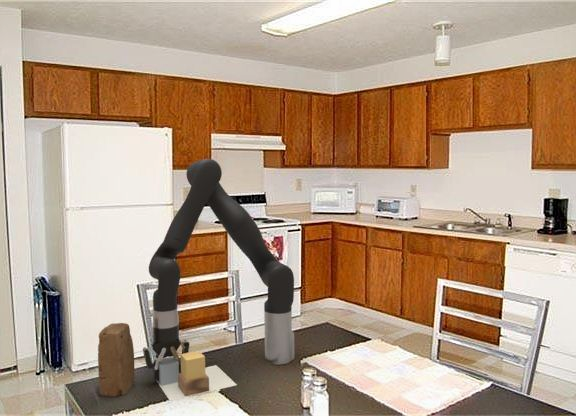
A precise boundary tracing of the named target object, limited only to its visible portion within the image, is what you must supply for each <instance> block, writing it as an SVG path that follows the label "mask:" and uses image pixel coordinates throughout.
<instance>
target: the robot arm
mask: <svg viewBox="0 0 576 416" xmlns="http://www.w3.org/2000/svg"><path fill="white" fill-rule="evenodd" d="M186 169H187V170H186V175H185V176H186V179H187V182H188V183H189V185H190V189H189V191H188V194H187V196H186V197H185V200H184V202H183V203H182V205H181V206H180V207H179V209H178V211H177V213H175V215H174V217H173V219H172V221H171V222H170V225H169V227H168V230H166V231H167V232H166V234H165V237H164V239H163V241H162V242H161V244H160V245H159V247H158V248H157V249H156V251H155V252H154V253H153V255H152V257H151V259H150V262H149V264H148V273H149V275H150V277H152V279H155V280H157V283H158V284H157V289H156V290H154V291H153V295H152V337H153V339H152V341H153V343H152V344H151V346H149V347H144V346H143V348H142V352H143V357H144V360H145V366H146V367H147V368H148V369H149V370H151V369H152V373H153V375H152V377H153V379H154V380H155V381H156V382H157V381H159V369H158V367H159V364H160V363H161V361H162V359H163V358H168V357H173V358H174V359H175V360H176V361H178V362H179V373H181V356H179V354H178V352H177V351H178V349H179V348H180V347H181V354H184V353H189V350H190V342H189V341H188V340H187V339H184V340H180V332H179V331H180V327H179V326H180V324H179V322H180V319H179V318H180V317H179V311H178V291H179V287H180V279H181V268H180V264H179V263H178V262H177V261H176V258H177V256H178V255H180V254H182V253H184V252H185V250H186V248H187V247H188V244H189V243H190V239H191V237H192V235H193V232H194V230H195V227H196V225H197V223H198V221H199V219H200V216H201V214H202V212H203V210H204V208H205V207H206V205H208V206H209V208H210V210H211V211H212V212H213V214H214V215H215V217H216V218H217V220H218V221H219V223H220V224H221V225H222V227H223V228H224V230H225V232H226V233H227V234H228V236H229V237H230V238H231V240H232V241H233V242H234V243H235V245H236V246H237V247H238V248H239V250H241V252H242V253H243V254H244V255H245V256H246V257H247V258H248V259H249V261H250V262H251V264H252V266H253V267H254V269H255V271H256V272H257V274H258V276H259V278H260V280H261V281H262V283H263V284H264V286H266V287H267V300H265V302H264V305H263V307H264V308H263V310H264V312H263V313H264V314H263V317H264V318H263V319H264V320H263V321H264V322H263V323H264V360H265V361H267V362H268V363H269V364H271V365H275V366H276V365H286V364H289V363H290V362H292V361H295V332H294V331H293V325H292V324H293V322H292V321H293V319H292V318H293V316H292V313H293V312H292V307H293V306H292V305H293V304H294V299H295V298H294V297H295V295H294V294H295V276H294V272H293V270H292V268H290V266H288V265H286V264H284V263H282V262H280V261H279V260H278V259H277V258H276V257H275V256H274V254H273V253H272V252H271V251H270V249H269V248H268V246H267V244H266V242H265V240H264V237H263V235H262V232H261V230H260V228H259V226H258V225H257V223H256V222H255V220H254V218H253V217H252V216H251V215H250V213H249V212H248V211H247V210H246V209H245V208H244V207H243V206H242V205H241V204H240V203H239V202H237V201H236V200H235V199H234V198H232V196H230V194H228V192H226V191H225V189H224V187H223V186H222V184H221V183H220V181H221V179H222V174H223V173H222V168H221V166H220V164H219V163H218V162H217V161H216V160H215V159H212V158H204V159H202V158H201V159H200V160H199V159H198V160H197V161H194V162H192V163H190V164H189V165H188V167H187V168H186ZM152 352H154V353H155V355H154V359H153V362H152V359H151V355H152Z"/></svg>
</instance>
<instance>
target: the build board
mask: <svg viewBox="0 0 576 416" xmlns="http://www.w3.org/2000/svg"><path fill="white" fill-rule="evenodd" d="M205 374H206V375H207V376H208V377H209V391H206V392H202V393H198V394H194V395H189V396H185V395H184V394H183V393H182V391H181V390H180V389H179V387H178V382H176V383H172V384H167V385H163V386H161V385H160V384H159V383H158V381H156V383H157V384H158V386H159V387H160V388H161V390H162V391H163V393H164V394H165V396H166V397H167V399H168V400H169V402H173V401H177V400H180V399H181V400H182V399H185V398H188V397H193V396H198V395H201V394H205V393H210V392H213V391H214V392H215V391H219V390H224V389H227V388H231V387H235V386H238V384H237V383H236V382H235V381H233V379H232V378H230V376H228V375H227V374H226V373H225V372H224V371H223V370H222V369H221V368H220V367H218V365H216V364H215V365H211V366H207V367H206V366H205Z"/></svg>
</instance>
